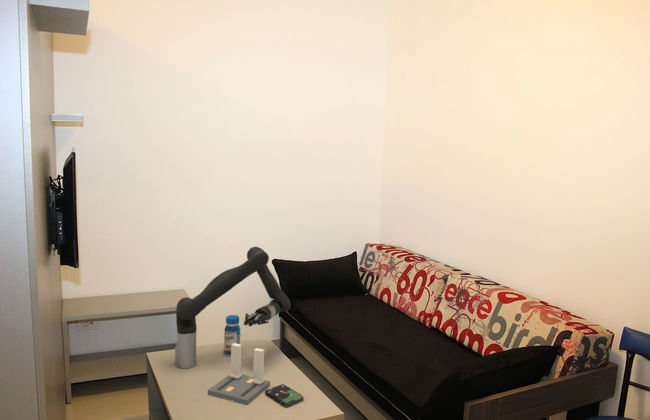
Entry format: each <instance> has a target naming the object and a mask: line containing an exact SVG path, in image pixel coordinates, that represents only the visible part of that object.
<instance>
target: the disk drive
mask: <svg viewBox="0 0 650 420" xmlns="http://www.w3.org/2000/svg"><path fill="white" fill-rule="evenodd" d="M264 395H265V397H267V398H268V399H271V400H272V401H274V402H275V403H276V404H279V405H280V406H282V407H283V408H285V409H286V408H289V407H291V406H294V405H297V404H299V403H301V402H304V401H305V398H304V396H303V395H302V394H301V393H300V392H297V391H296V390H294V389H292V388H290V386H288V385H286V384H284V383H282V384H280V385H277V386H274V387H272V388H271V389H270V388H267V389H265V390H264Z"/></svg>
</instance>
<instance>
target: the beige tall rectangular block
mask: <svg viewBox="0 0 650 420" xmlns="http://www.w3.org/2000/svg"><path fill="white" fill-rule="evenodd" d="M252 371H253V373H252V375H253V376H252V377H253V380H252V383H255V384H259V385H261V384H262V383H263V382H264V380H265V379H264V377H265V376H264V374H265V373H264V371H265V349H264V348H257V347H256V348H255V349H253V369H252Z"/></svg>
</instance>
